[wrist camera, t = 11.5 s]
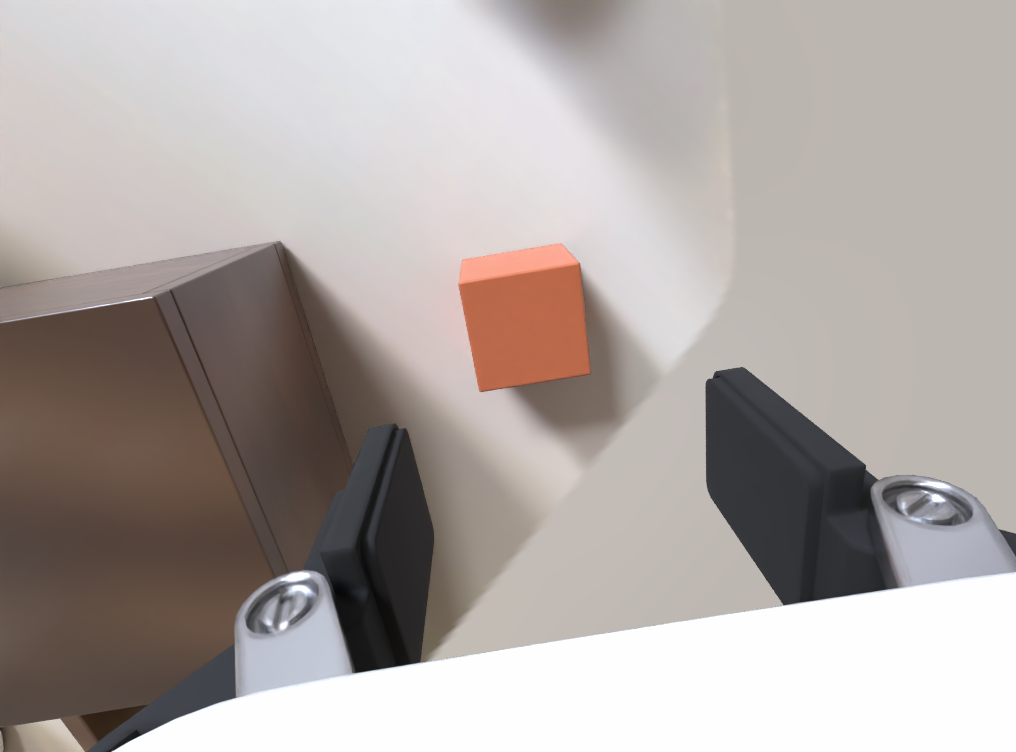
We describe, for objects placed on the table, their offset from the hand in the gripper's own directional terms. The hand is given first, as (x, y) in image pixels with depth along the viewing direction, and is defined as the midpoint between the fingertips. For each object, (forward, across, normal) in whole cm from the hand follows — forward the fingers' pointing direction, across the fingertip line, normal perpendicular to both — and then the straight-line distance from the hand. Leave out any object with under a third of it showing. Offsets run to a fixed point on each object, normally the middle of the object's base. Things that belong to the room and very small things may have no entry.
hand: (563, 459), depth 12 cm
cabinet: (+14, +16, +3) cm, 21 cm away
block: (+14, 0, 0) cm, 14 cm away
